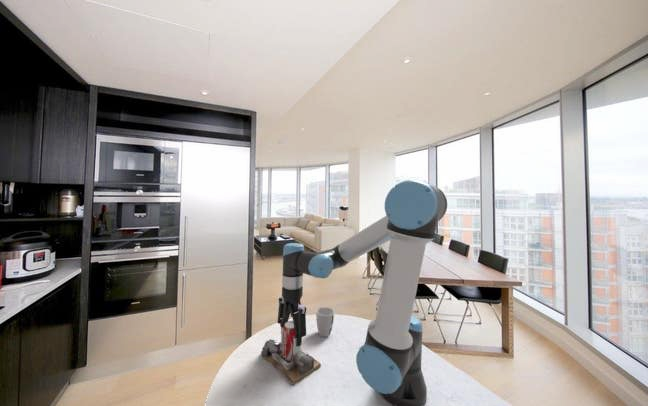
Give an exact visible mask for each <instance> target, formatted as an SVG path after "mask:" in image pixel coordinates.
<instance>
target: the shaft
mask: <svg viewBox="0 0 648 406" xmlns="http://www.w3.org/2000/svg"><path fill="white" fill-rule="evenodd" d="M275 340H276V339H275ZM275 340H274V339H269V340H266V341H265V343H264V345H263V347H262V350H261V351H262V355H261V357H262V358H264V357H266V358H267V357H268V356H269V355H270V354H272V353H275V354H278V355H280V350H281V348H282V346H281V343H280V342H277V341H275Z"/></svg>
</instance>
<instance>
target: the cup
mask: <svg viewBox="0 0 648 406" xmlns="http://www.w3.org/2000/svg"><path fill="white" fill-rule="evenodd" d="M315 314H316V315H315V317H316V318H315V319H316V321H315V322H316V325H317V326H316V328H317V332H318V335H319V336H320V337H324V338H327V337H329V336H331V333H332V330H333V325H334V318H335V310H334V309H333V308H331V307H329V306H328V307H327V306H322V307H319V308H317V309H316V310H315Z"/></svg>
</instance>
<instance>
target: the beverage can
mask: <svg viewBox="0 0 648 406" xmlns="http://www.w3.org/2000/svg"><path fill="white" fill-rule="evenodd" d="M294 336H295V330H294V324H293V320H290V321H289V320H288V322H286V323H285V325H284V327H283V334H282V358H283V359H284V360H286V361H292V360H293V357H294V355H293V345H294Z"/></svg>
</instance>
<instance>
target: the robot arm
mask: <svg viewBox="0 0 648 406" xmlns="http://www.w3.org/2000/svg"><path fill="white" fill-rule="evenodd" d="M447 211H448V199H447V197H446V195H445V193H444V192H443V191H442V190H441V189H440V188H439V187H437V186H436V185H433V184H430V183H428V182H426V181H424V180H423V181H422V180H419V179H417V180H416V179H410V180H409V179H408V180H404V181H401V182H399V183H397V184H395V185H394V186H392V188H391V189H390V190H389V192H388V193H387V195H386V197H385V200H384V212H385V215H384V217H381V218H380V219H378V220H377V221H375V222H373V223H372V224H370V225H369V226H367V227H365V228H364V229H362V230H360V231H359V232H357V233H355V234H353V235H352V236H350V237H349V238H348V239H345V240H344V241H342V242H341V243H339V244H338V245H336V246H334V247H333V248H330V249H326V250H322V251H317V252H310V251H306V250H305V246H304V244H303V243H299V242H298V243H297V242H289V243H286V244H285V245H284V246H283V251H282V252H283V253H282V274H281V275H282V279H281V280H282V281H281V286H282V287H281V296H280V297H279V298H278V311H277V324H279V326H280V334H281V335H280V342H281V346H282V334H283V327H284V325H285V323H286V322H288V321H289V320H290V317H291V318H292V321H293V324H294V330H295V336H294V345H293V355H295V354H296V353H297V352H298V351H300V352H301V349H302V341H303V337H306V336H307V318H306V313H307V307H306V306H304V307H303V305H302V302H301V299H302V297H303V289H304V287H303V283H304V274H305V275H308V276H311V277H314V278H319V279H327V278H328V277H330V275H331V274H332V272H333V271H334V270H337V269H341V268H343V267H346V266H347V265H348V264H349V263H351V262H352V261H354V260H357V259H358V258H360V257H362V256H363V255H366V254H367V253H369V252H371V251H373V250H374V249H377V248H378V247H380V246H382V245H384V244H385V243H387V242H389V246H388V252H387V257H386V262H385V268H384V272H383V278H382V283H381V289H380V294H379V298H378V303H377V310H376V314H375V315H376V316H375V319H373V320H371V321H370V322H369V324H368V326H367V331H366V336H365V341H364V344H363V345H361V346H360V347H359V349H358V351H357V353H356V357H355V360H356V362H355V363H356V367H357V369H358V372H359V374H360V375H361V377H362V379H363V380H364V382H365V383H366V384H367V385H368V386H369V387H370V388H371V389H373V390H374V391H376V392H378V393H379V394H380V396H381V397H382V398H383V399H384V400H385V401H386V402H388V403H389V404H390V405H394V406H424V405H425V403H426V401H427V396H428V394H427V391H428V390H427V385H426V381H425V376H424V374H423V370H422V357H423V356H422V353H423V350H422V349H423V334H424V333H423V332H424V331H423V323H422V321H421V320H420V318H419V317H416V316H415V315H414V314H413V309H414V305H415V301H416V295H417V291H418V285H419V280H420V275H421V270H422V265H423V262H424V261H423V260H424V256H425V250H426V246H427V244H429V243H431V242H432V241H434V240H435V236H436V233H437V228H438V227H437V226H438V223H439V221H441V220H442V219H443V218H444V217H445V214H446V212H447Z"/></svg>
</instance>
